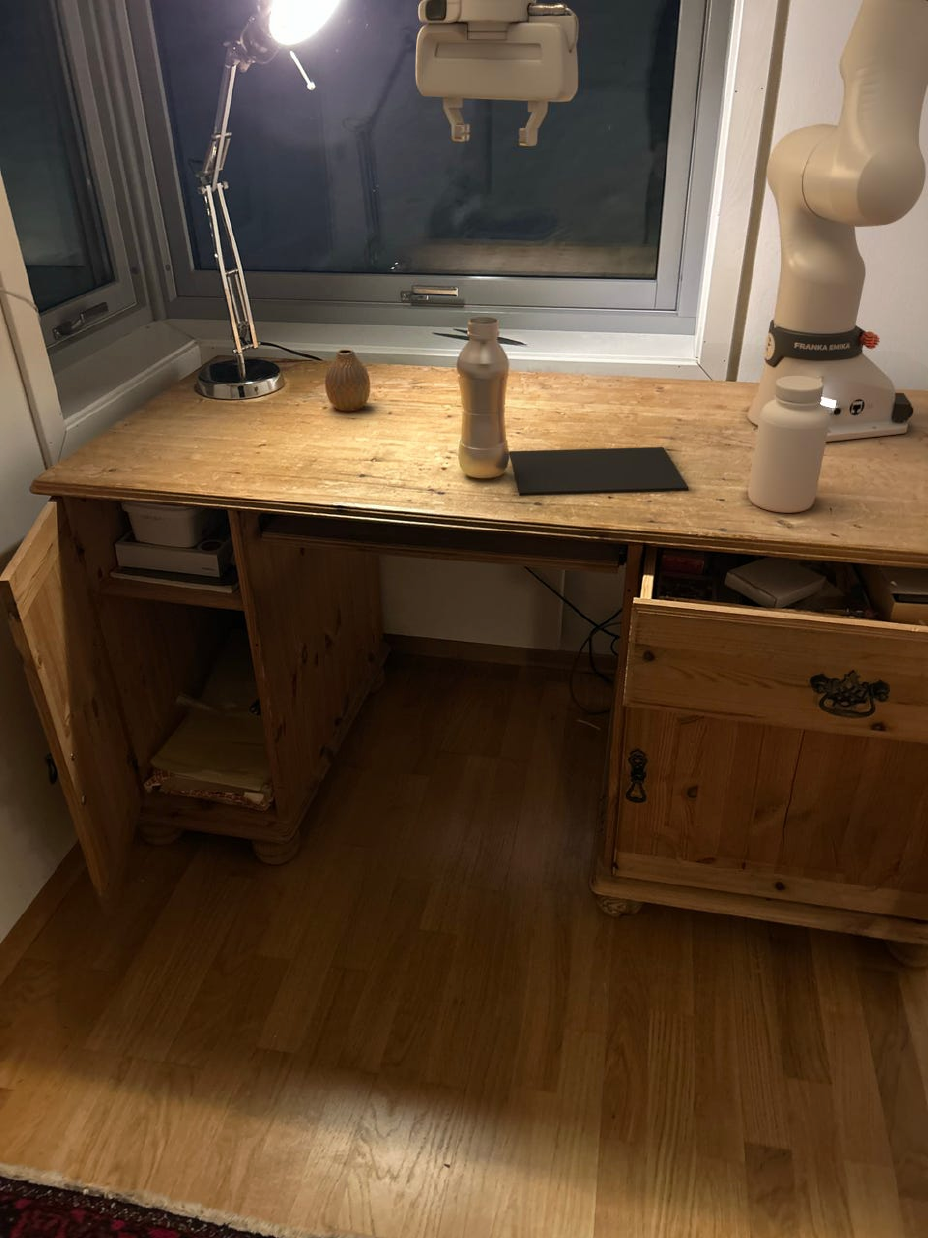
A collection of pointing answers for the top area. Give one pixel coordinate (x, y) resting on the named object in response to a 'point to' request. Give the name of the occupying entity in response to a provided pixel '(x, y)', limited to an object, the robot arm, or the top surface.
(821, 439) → the pill bottle
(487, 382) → the plastic bottle
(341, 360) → the vase
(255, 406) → the top surface
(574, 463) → the mat
